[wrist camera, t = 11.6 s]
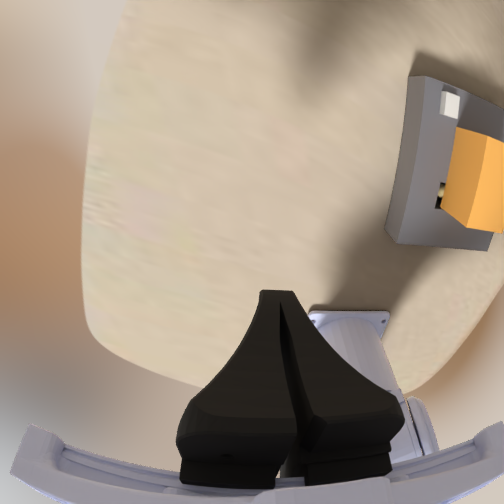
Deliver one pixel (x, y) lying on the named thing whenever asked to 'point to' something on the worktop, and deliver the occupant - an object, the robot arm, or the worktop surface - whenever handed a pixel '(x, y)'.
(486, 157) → the plug
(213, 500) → the robot arm
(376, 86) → the worktop surface
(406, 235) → the socket
